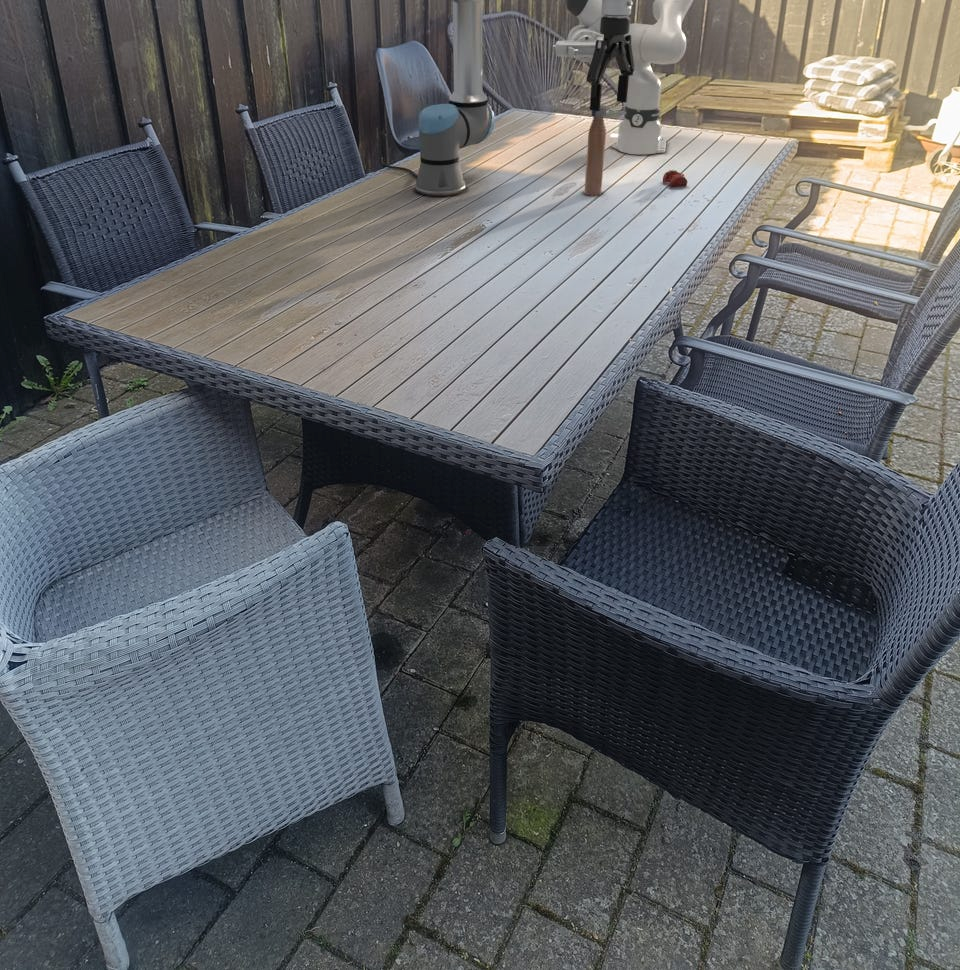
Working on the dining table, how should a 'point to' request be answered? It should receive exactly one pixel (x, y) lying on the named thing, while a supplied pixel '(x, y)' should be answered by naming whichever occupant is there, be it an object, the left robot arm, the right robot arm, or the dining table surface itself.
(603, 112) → the cap
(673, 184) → the dental model
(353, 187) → the dining table surface
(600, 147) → the bottle
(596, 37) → the right robot arm
